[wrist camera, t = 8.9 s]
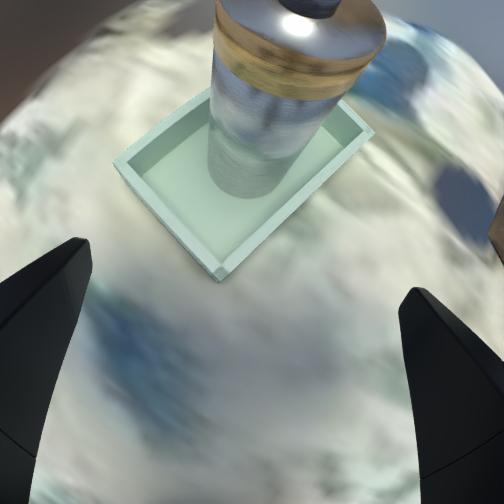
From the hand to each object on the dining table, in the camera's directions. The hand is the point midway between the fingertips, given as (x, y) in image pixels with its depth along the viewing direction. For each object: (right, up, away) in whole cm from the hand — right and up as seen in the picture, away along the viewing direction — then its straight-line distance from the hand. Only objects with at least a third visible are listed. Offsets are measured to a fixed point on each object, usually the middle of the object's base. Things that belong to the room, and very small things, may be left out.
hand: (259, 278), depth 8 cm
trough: (-1, +6, +12) cm, 14 cm away
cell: (0, +6, +12) cm, 13 cm away
